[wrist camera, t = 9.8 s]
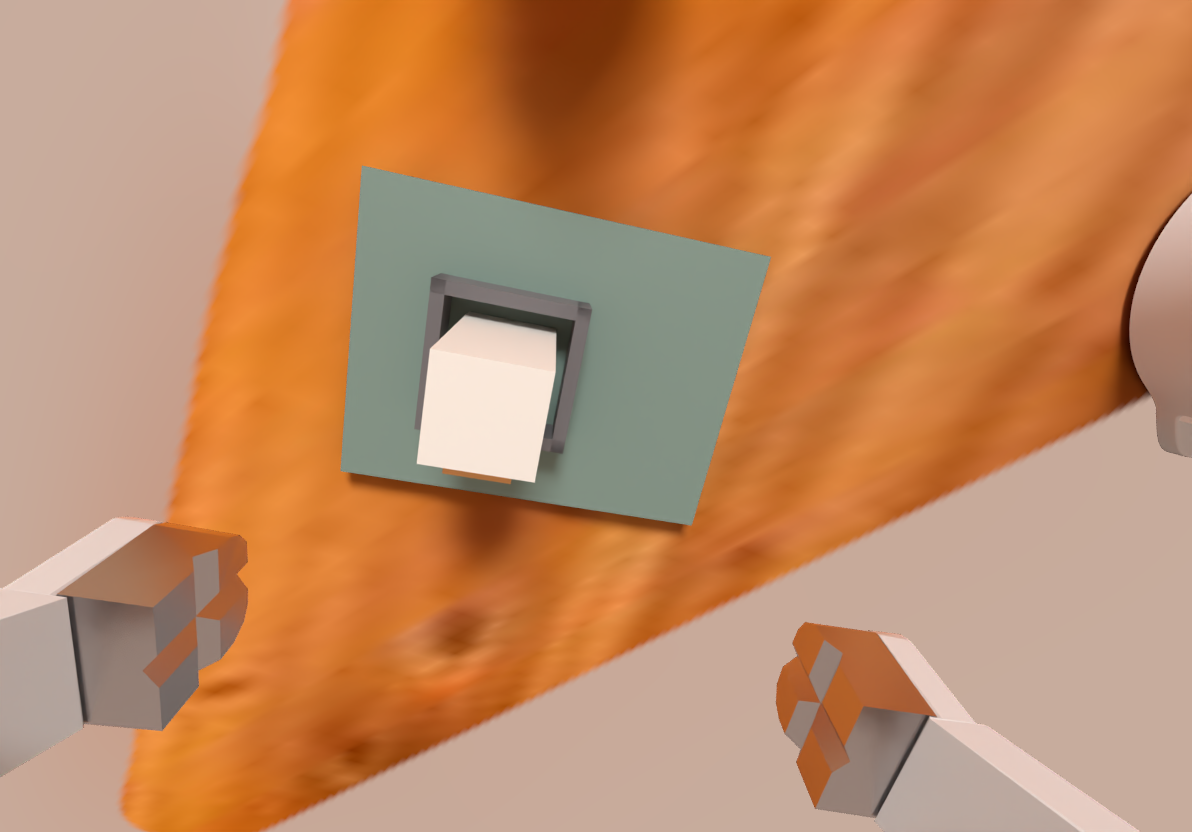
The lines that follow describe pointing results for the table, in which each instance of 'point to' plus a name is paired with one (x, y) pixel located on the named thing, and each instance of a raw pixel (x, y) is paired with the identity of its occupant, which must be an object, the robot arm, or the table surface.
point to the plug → (488, 399)
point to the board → (583, 340)
